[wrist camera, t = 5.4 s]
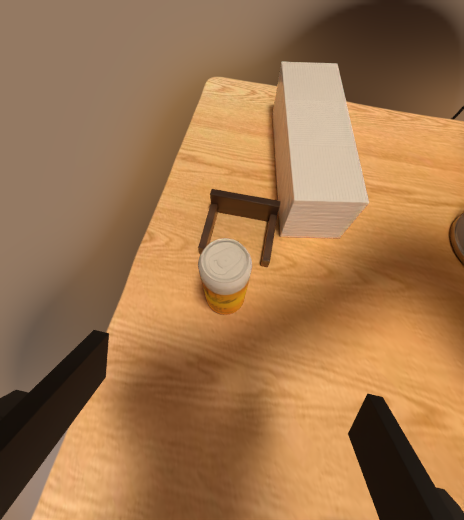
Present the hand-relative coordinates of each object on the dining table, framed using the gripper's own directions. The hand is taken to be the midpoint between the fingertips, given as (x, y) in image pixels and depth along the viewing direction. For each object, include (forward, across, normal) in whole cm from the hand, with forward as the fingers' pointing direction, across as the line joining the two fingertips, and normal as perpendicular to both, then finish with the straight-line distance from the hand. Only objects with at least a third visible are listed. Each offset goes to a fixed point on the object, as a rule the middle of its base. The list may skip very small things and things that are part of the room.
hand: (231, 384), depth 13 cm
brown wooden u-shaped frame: (+35, -1, -1) cm, 35 cm away
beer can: (+28, -1, -9) cm, 29 cm away
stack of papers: (+47, +8, +13) cm, 50 cm away
